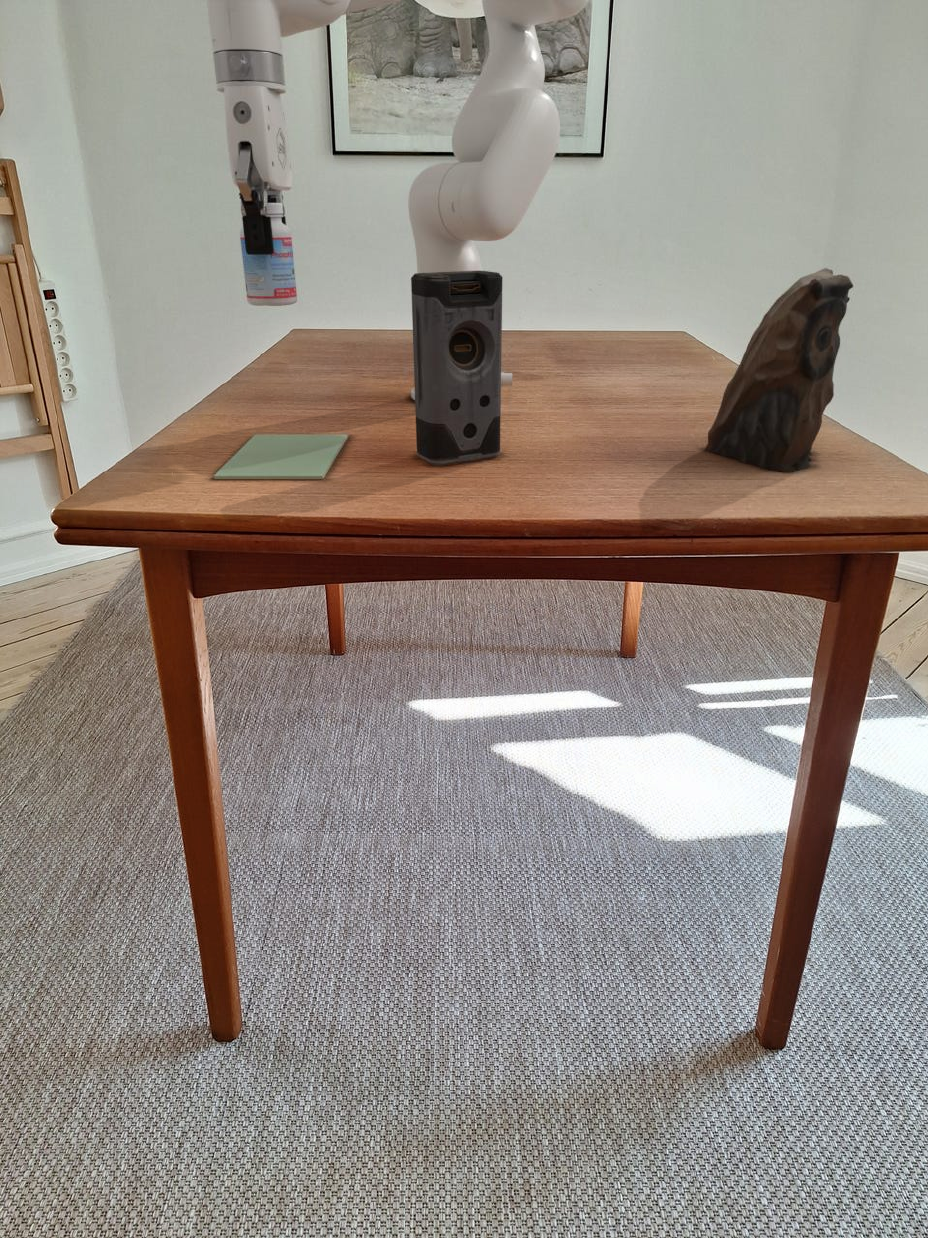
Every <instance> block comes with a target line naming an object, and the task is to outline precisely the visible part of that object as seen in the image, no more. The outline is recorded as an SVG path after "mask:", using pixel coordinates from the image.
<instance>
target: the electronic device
mask: <svg viewBox="0 0 928 1238" xmlns="http://www.w3.org/2000/svg"><path fill="white" fill-rule="evenodd" d="M410 287H411V289H410V290H411V317H412V320H411V321H412V342H413V343H412V348H413V352H412V353H413V381H414V388H415V400H414V408H415V410H414V411H415V440H416V456H418V457H419V458H420V459H421V460H422V461H425V462H426V463H428V464H430V465H432V466H436V467H437V466H438V467H444V466H450V465H451V466H452V465H458V464H465V463H470V462H478V461H483V460H484V461H485V460H490V459H494V458H497V457H498V456H499V455H500V453H501V418H502V417H501V416H502V415H501V413H502V412H501V411H502V410H501V409H502V386H501V372H502V348H503V347H502V344H503V343H502V341H503V339H502V338H503V336H502V335H503V275H501V273H499V272H496V271H489V270H483V271H455V272H433V273H417V272H416V273H414V274H413V275H412V276H411V277H410Z"/></svg>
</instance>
